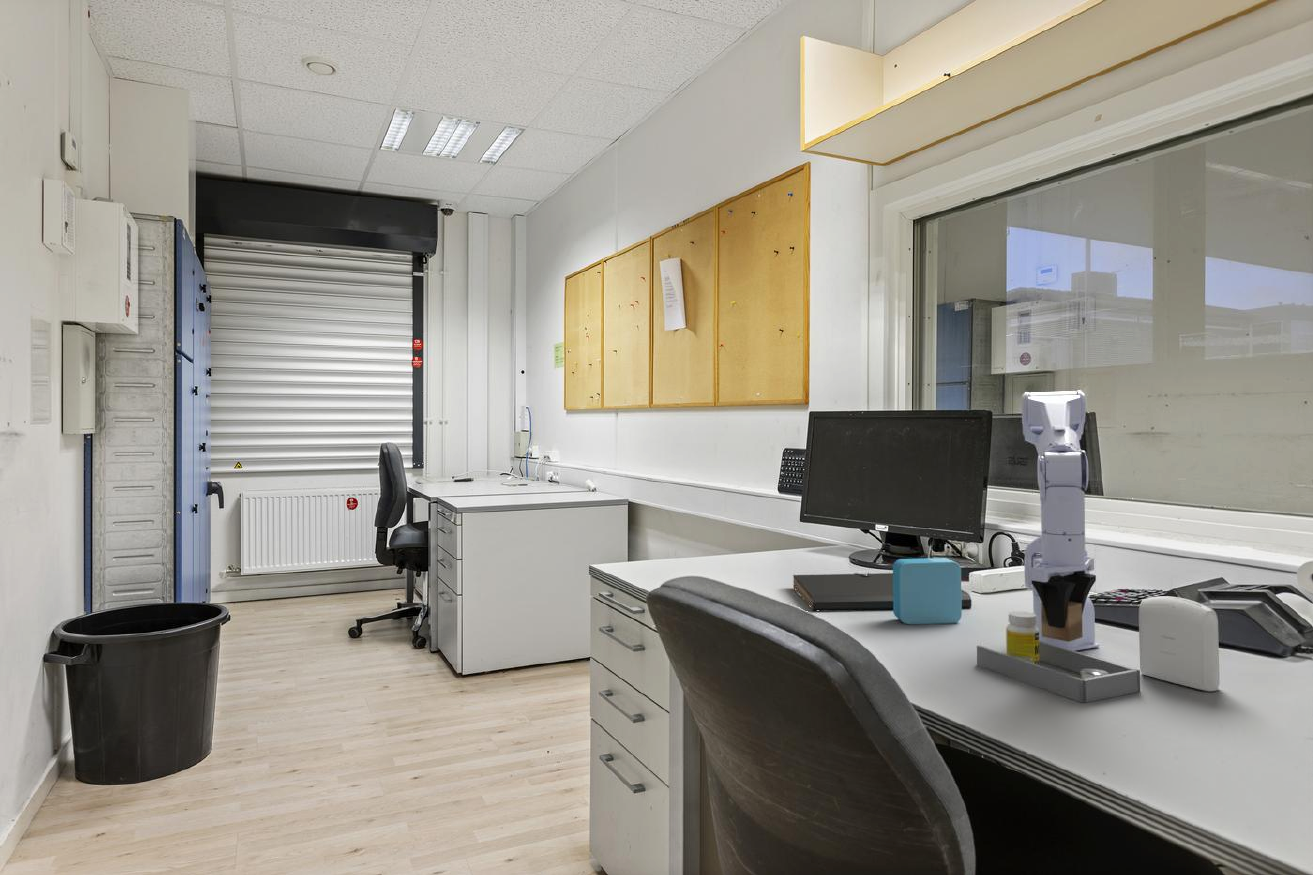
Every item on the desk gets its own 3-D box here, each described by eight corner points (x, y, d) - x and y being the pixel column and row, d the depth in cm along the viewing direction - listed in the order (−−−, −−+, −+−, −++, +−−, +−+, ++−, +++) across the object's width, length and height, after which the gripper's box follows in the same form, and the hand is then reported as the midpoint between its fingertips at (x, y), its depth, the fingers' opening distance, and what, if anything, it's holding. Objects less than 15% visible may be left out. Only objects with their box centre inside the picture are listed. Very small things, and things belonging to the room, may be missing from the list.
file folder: (930, 570, 185) (971, 593, 161) (930, 587, 185) (971, 613, 161) (792, 573, 185) (813, 596, 161) (792, 590, 185) (813, 616, 161)
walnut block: (1082, 637, 115) (1081, 603, 115) (1069, 641, 112) (1068, 607, 112) (1055, 631, 118) (1054, 599, 118) (1041, 636, 116) (1041, 602, 116)
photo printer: (1134, 674, 117) (1133, 593, 117) (1152, 670, 119) (1150, 590, 119) (1207, 694, 108) (1206, 606, 108) (1225, 689, 110) (1224, 603, 110)
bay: (1029, 655, 128) (1029, 637, 128) (1140, 691, 110) (1139, 670, 110) (977, 664, 124) (976, 645, 124) (1082, 703, 106) (1082, 681, 106)
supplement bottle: (1041, 673, 119) (1041, 618, 119) (1008, 670, 120) (1007, 616, 120) (1037, 663, 123) (1036, 611, 123) (1005, 661, 125) (1004, 609, 125)
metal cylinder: (1092, 686, 113) (1092, 667, 113) (1115, 694, 109) (1115, 674, 109) (1075, 690, 111) (1074, 670, 111) (1097, 697, 108) (1097, 677, 108)
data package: (952, 617, 154) (951, 557, 154) (962, 623, 150) (961, 561, 149) (893, 619, 154) (892, 559, 154) (900, 624, 149) (899, 562, 149)
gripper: (1060, 526, 122) (1061, 611, 122) (1010, 534, 114) (1012, 626, 114) (1107, 530, 116) (1109, 620, 117) (1059, 539, 108) (1060, 636, 108)
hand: (1064, 624), depth 115 cm, fingers closed on walnut block, 4 cm apart
